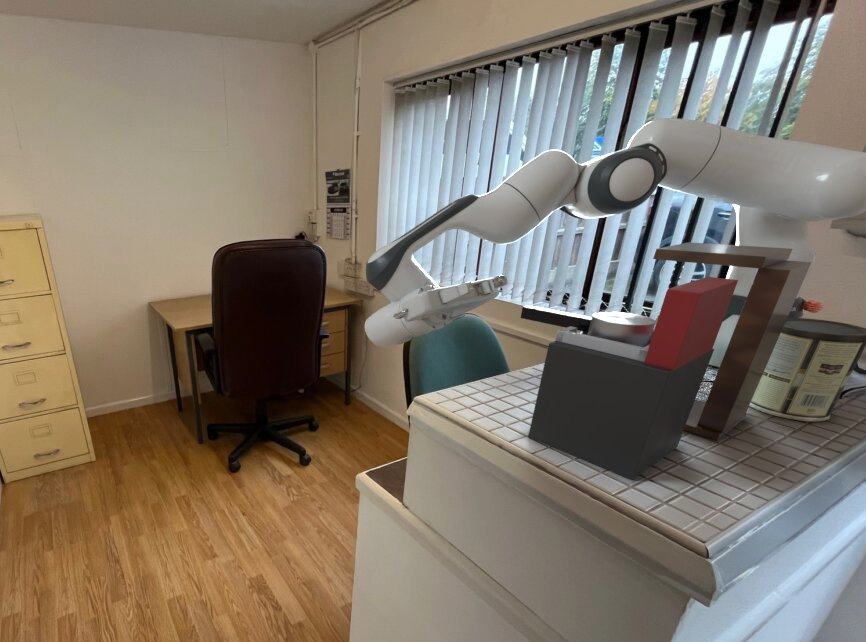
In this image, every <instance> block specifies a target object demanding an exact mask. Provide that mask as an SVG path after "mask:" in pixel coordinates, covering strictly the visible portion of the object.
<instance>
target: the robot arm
mask: <svg viewBox="0 0 866 642" xmlns="http://www.w3.org/2000/svg"><path fill="white" fill-rule="evenodd" d="M658 186H659V187H662V188H665V189H668V190H672V191H676V192H679V193H683V194H687V195H691V196H694V197H698V198H701V199H705V200H709V201H711V202H712V201H713V202H717V203H723V204H729V205H732V207H733V208H734V210H735V216H736V234H735V235H736V237H735V245H740V246H756V247H772V248H789V249H792V251H791V254H790V256H789V259H788V261H801V262H811V265H810V267H809V269H808V272H807V274H806V276H805V278H804V281H803V283H802V285H801V288H800V290H799V292H798V294H797V297H796V299H795V301H794V304H793V306H792V308H791V311H790V313H789V315H788V317H787V318H804V311H806V312H809V313H812V314H816V313H819V311H822V309H823V308H824V305H823V303H822V302H820V301H819V302H818V301H815V300H813V299H812V300H806V299H804V298H802V297H800V296H801V294H802V291H803V289H804V287H805V284H806V282H807V280H808V278H809V275H810V273H811V271H812V269H813V267H814V264H815V261H816V258H817V253H816V250H815V248H814V247H813V246H812V244H811V242H810V237H809V222H813V223H814V222H816V223H817V222H819V223H820V222H827V221H835V220H842V219H848V218H852V217H856V216H858V215H861V214H864V213H865V212H866V152H865V151H859V150H852V149H847V148H841V147H836V146H830V145H824V144H818V143H812V142H806V141H799V140H792V139H784V138H777V137H770V136H769V137H768V136H763V135H759V134H753V133H751V132H747V131H743V130H739V129H735V128H731V127H727V126H724V125H719V124H715V123H711V122H706V121H703V120H702V121H701V120H695V119H688V118H676V117H674V118H673V117H660V118H655V119H653V120H651V121H648V122H647V123H646V124H644V125H642V127H640V128H639V129H638V130H637V131H636V132H635V133H634V134H633V135H632V137H631V138H630V140H629V142H628V144H627V146H626V148H623V149H620V150H617V151H614V152H611V153H607V154H604V155H601V156H598V157H596V158H595V157H594V158H593V159H591V160H589V161H587V162H584V163H578V162H576V160H575V159H574V158H573V157H572V156H571V155H570V154H568V153H567V152H565V151H563V150H560V149H549V150H546V151H543V152H541V153H540V154H539V155H537V156H536V157H534V158H532V159H531V160H529V161H528V162H527V163H525V164H524V165H522V166H521V167H520V168H518V169H517V170H516V171H515V172H513V173H512V174H511V175H510V176H508V177H507V178H506V179H505V180H503V181H502V183H500V184H499V185H498V186H496V187H495V188H493V189H492V190H491V191H489V192H487V193H484V194H481V195H477V194H474V193H469V194H466V195H463V196H460V197H459V198H457V199H455V200H454V201H452V202H450V203H449V204H447V205H445V206H444V207H442V208H441V209H440V210H437V211H436V212H435V213H434V214H432V215H431V216H429V217H428V218H426V219H424V220H423V221H421V222H419V224H417V225H415V226H414V227H413V228H411V229H410V230H408V231H407V232H406V233H404V234H403V235H401V236H400V237H397V238H396V239H394V240H393V241H391V242H389V243H388V244H386V245H383V246H381V247H380V248H379V249H377V250H375V252H373V253H372V254H371V256H370V257H369V258H368V259H367V261H366V263H365V278H366V282H368V284H370V286H372V287H373V288H374V289H375V290H377V292H379V293H380V294H381V295H382V296H383V297H384V298H385V300H387V301H388V304H386V305H384V306H383V307H381V308H380V309H377V310H376V311H374V312H373V313H372V314H371V315H369V316H368V317H367V318H366V319H365V322H364V332H365V335H366V337H367V338H368V339H369V341H370V342H371V343H372V344H373V345H374V346H375V347H377V348H382V349H384V348H385V349H386V348H392V347H396V346H399V345H402V344H405V343H407V342H410V341H411V340H413V339H414V338H416V337H417V338H418V337H419V338H420V337H423V336H426V335H429V334H431V333H434V332H436V331H439V330H441V329H443V328H445V327H446V326H447V325H449V324H450V323H452V322H454V321H456V320H459V319H462V318H465V316H466V313H468V312H471V311H473V310H474V309H477V308H479V307H480V306H483V305H484V304H486V303H488V302H490V301H492V300H494V299H495V298H497V297H499V294H500V292H499V289H500V288H502V287H505V286H507V285H508V283H509V281H508V278H507V275H506V274H500V275H497V276H495V277H490V278H485V279H479V280H475V281H465V282H462V283H459V284H454V285H449V286H439V285H438V284H437V283H436V281H435V280H434V279H433V278H432V277H431V276H430V274H428V273H427V272H426V271H425V269H424V268H423V267H422V266H421V265H420V263H418V261H417V260H416V259H415V257H414V254H415V253H416V252H417V251H419V250H420V249H423V247H425V246H427V245H428V244H429V243H431V242H433V241H434V240H435V239H437V238H439V237H440V236H442V235H443V234H445V233H446V232H448V231H450V230H451V231H452V230H461V231H464V232H466V233H468V234H470V235H473V236H475V237H477V238H479V239H481V240H482V241H485V242H488V243H490V244H495V245H509V244H514V243H515V242H517V241H519V240H521V239H523V238H524V237H525V236H527V235H528V234H529V233H531V232H532V231H533V230H534V229H536V227H538V226H539V225H541V223H542V222H544V221H545V220H546V219H547V218H548V217H549V216H550V215H552V213H554V212H556V211H557V210H559V211H561V212H563V213H564V214H566V215H568V216H569V217H572V218H575V219H579V220H580V219H582V220H584V219H600V218H601V219H603V218H606V217H610V216H615V215H621V214H625V213H628V212H631V211H632V210H635V209H636V208H638V207H640V206H641V205H642V204H644V203H645V202H646V201H647V200H648V199H649V198H650V197H651V196H652V195H653V194H654V192H655V191H656V190H657V188H658ZM757 271H758V268H748V267H737V266H729V268H728V271H727V274H726V277H725V279H733V280H738V282H737V285H736V287H735V290H734V293H733V295H732V298H731V301H730V303H729V306H728V309H727V311H726V314H725V317H724V319H723V322H722V324H721V327H720V330H719V332H718V335H717V338H716V340H715V343H714V346H713V348H712V349H714V351H713V354H712V357H711V359H710V362H709V365H708V366H713V367H717V368H719V367H720V365H721V362H722V360H723V357H724V355H725V352H726V350H727V347H728V344H729V342H730V339H731V337H732V334H733V332H734V329H735V327H736V324H737V322H738V319H739V316H740V314H741V311H742V309H743V306H744V304H745V301H746V299H747V296H748V293H749V291H750V288H751V286H752V283H753V281H754V278H755V276H756V273H757ZM853 372H856V373H857V374H861V375H866V369H864V368H862V367H859V362H857V364H856V366H855V368H854V369H853Z"/></svg>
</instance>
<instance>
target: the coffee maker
mask: <svg viewBox="0 0 866 642" xmlns="http://www.w3.org/2000/svg"><path fill="white" fill-rule="evenodd" d="M737 282H738V280H733V279H726V278H724V277H723V278H722V277H712V276H706V277H702V278H699V279H696V280H692V281H689V282H687V283H683V284H679V285H677V286H673V287H669V288H667V289H666V292H665V295H664V299H663V303H662V305H661V307H660V311H659V317H658V316H657V317H658V320H657V324H656V327H655V326H654V328H655V329H654V330H653V333H652V336H651V339H650V342H649V345H648V346H645V347H640V346H635V345H631V344H626V343H621V342H617V341H612V340H608V339H603V338H598V337H594V336H589V335H587V334H588V332H584V331H580V332H578V330H577V328H576V327H571V326H570V327H567V328H565V327H563V328H561V329H558V330H557V331H556V334H555V339H554V340H553V341H550V342H549V343H548V347H547V350H546V356H545V360H544V364H543V369H542V372H541V373H542V374H541V378H540V382H539V386H538V391H537V395H536V400H535V405H534V408H533V412H532V413H533V414H532V417H531V422H530V426H529V431H528V436H527V437H528V438H530V439H533V440H535V441H538V442H540V443H542V444H544V445H547V446H549V447H552V448H554V449H557V450H559V451H562V452H564V453H566V454H569V455H571V456H573V457H576V458H578V459H581V460H583V461H585V462H588V463H590V464H592V465H594V466H597V467H600V468H602V469H604V470H606V471H609V472H611V473H613V474H616V475H618V476H621V477H623V478H626V479H628V480H631V481H633V480H634V479H636V478H638V477H639V476H640V475H642V474H643V473H645V472H646V471H647V470H648V469H650V468H651V467H653V466H654V465H655V464H656V463H658V462H660V461H662V459H664V458H665V457H666V456H668V455H669V454H670V453H672V452H673V451H674V450H676V449H677V448H678V446H679V443H680V441H681V438H682V435H683V433H684V431H685V430H684V428H685V425H686V422H687V420H688V417H689V415H690V412H691V409H692V407H693V404H694V401H695V399H696V400H697V396H698V393H699V391H700V389H701V385H702V383H703V381H704V377H705V375H706V372H707V370H708V368H709V366H710V365H709V362H710V359H711V357H712V354H713V351H714V349H712V348H713V346H714V343H715V340H716V338H717V335H718V332H719V330H720V327H721V324H722V322H723V319H724V317H725V314H726V311H727V309H728V306H729V303H730V301H731V298H732V295H733V293H734V290H735V287H736V285H737Z"/></svg>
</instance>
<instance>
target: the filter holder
mask: <svg viewBox="0 0 866 642" xmlns="http://www.w3.org/2000/svg"><path fill="white" fill-rule="evenodd" d="M520 319H524V320H528V321H532V322H537V323H541V324H547V325H551V326H556V327H560V328H567V327H570V326H571V327H576V328H577V331H580V332H583V331H584V332H588V334H587V335H589V336H594V337H598V338H603V339H608V340H612V341H617V342H621V343H626V344H631V345H635V346H640V347H645V346H648V345H649V342H650V339H651V336H652V333H653V330H654V328H655V323H656V321H655V320H656V319H653V318H652V317H649V316H646V315H642V314H637V313H631V312H623V311H599V312H594V313H593V314H592V316H589V315H584V314H578V313H572V312H567V311H561V310H557V309H552V308H547V307H546V308H545V307H541V306H534V305H530V304H529V305H528V304H527V305H525V306H522V308H521V313H520Z"/></svg>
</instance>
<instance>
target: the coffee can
mask: <svg viewBox="0 0 866 642" xmlns="http://www.w3.org/2000/svg"><path fill="white" fill-rule="evenodd" d="M865 348H866V328H865V327H862V326H859V325H854V324H850V323H845V322H840V321H834V320H825V319H815V318H804V317H803V318H787V320H786V322H785V324H784V327H783V329H782V331H781V333H780V336H779V338H778V340H777V343H776V345H775V347H774V350H773V352H772V354H771V356H770V359H769V361H768V363H767V366H766V368H765V370H764V372H763V375H762V377H761V379H760V382H759V384H758V386H757V388H756V391H755V393H754V395H753V398H752V400H751V402H750V405H749V407H750V408H752V409H754V410H756V411H759V412H761V413H764V414H768V415H772V416H775V417H779V418H783V419H787V420H793V421H800V422H812V423H813V422H825V421H828V420H829V419H830V418H831V414H832V412H833V410H834V408H835V407H836V405H837V402H838V401H839V399H840V397H841V395H842V393H843V391H844V390H845V387H846V385H847V383H848V381H849V379H850V377H851V375H852V374H853V372H854V370H853V369H854V368H855V366H856V364H857V363H859V361H860V358H861V356H862V354H863V353H864V350H865Z"/></svg>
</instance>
